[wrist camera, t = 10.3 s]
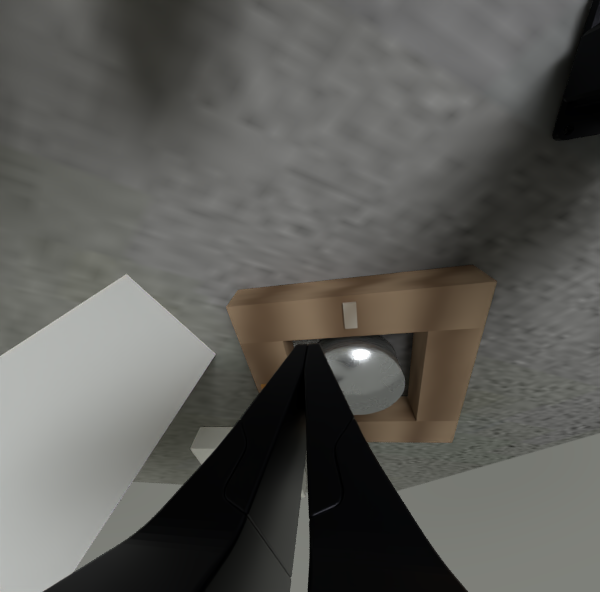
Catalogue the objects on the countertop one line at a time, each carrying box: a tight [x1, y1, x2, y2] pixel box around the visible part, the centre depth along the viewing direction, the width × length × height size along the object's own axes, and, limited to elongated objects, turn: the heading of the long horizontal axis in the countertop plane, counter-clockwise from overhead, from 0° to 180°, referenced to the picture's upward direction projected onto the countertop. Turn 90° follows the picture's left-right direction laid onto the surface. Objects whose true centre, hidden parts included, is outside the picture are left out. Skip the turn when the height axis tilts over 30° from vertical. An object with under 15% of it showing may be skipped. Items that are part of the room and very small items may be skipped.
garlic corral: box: [190, 427, 306, 498], centre depth 35 cm, size 14×14×3 cm
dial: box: [319, 335, 405, 415], centre depth 22 cm, size 14×9×7 cm, turn 105°
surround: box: [226, 265, 497, 443], centre depth 23 cm, size 20×20×3 cm
